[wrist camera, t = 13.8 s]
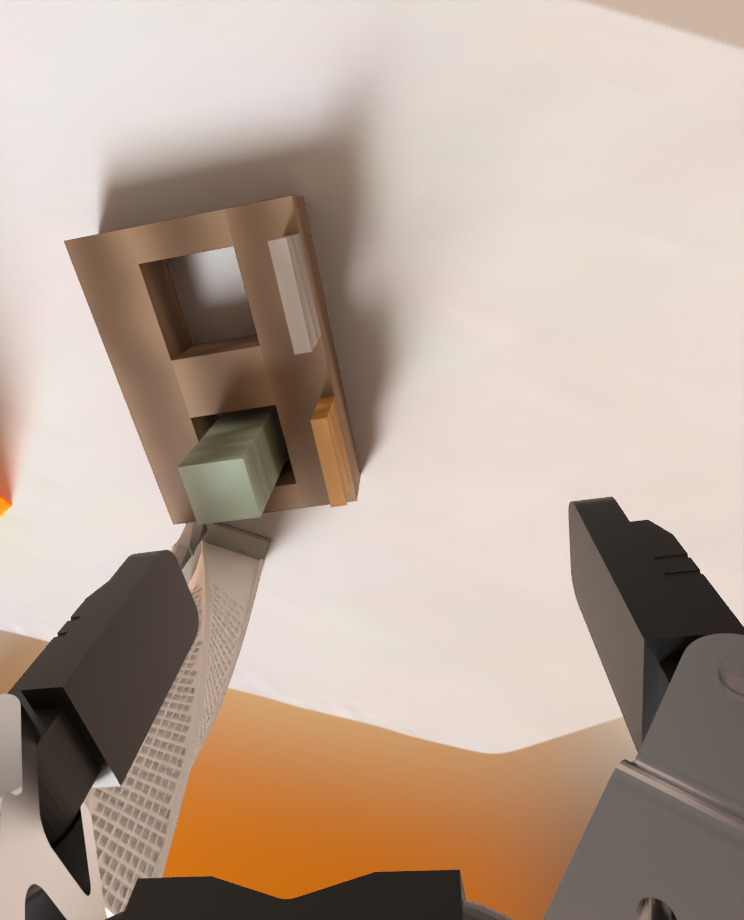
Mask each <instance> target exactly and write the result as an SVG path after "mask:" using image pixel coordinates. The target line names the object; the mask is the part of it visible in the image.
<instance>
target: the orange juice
mask: <svg viewBox="0 0 744 920" xmlns="http://www.w3.org/2000/svg"><path fill="white" fill-rule="evenodd" d="M11 506H12V505H11V504H9V503H8V502H6V501H5V500H4V499H2V498H1V497H0V519H1V518H2V517H3V515H4V514H5V513H6V512H7V511H8V510H9V508H10V507H11Z"/></svg>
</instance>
